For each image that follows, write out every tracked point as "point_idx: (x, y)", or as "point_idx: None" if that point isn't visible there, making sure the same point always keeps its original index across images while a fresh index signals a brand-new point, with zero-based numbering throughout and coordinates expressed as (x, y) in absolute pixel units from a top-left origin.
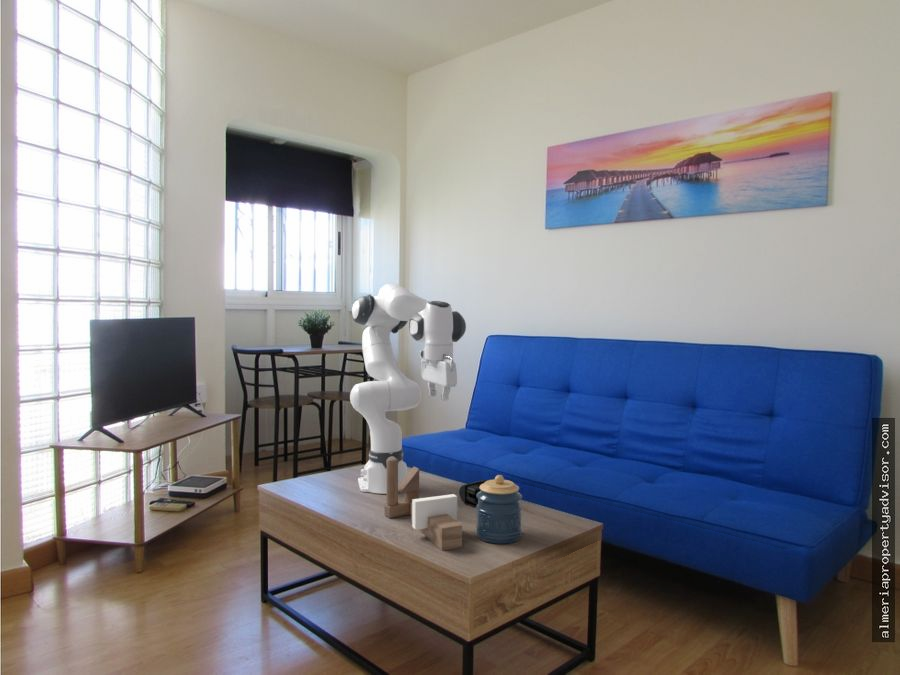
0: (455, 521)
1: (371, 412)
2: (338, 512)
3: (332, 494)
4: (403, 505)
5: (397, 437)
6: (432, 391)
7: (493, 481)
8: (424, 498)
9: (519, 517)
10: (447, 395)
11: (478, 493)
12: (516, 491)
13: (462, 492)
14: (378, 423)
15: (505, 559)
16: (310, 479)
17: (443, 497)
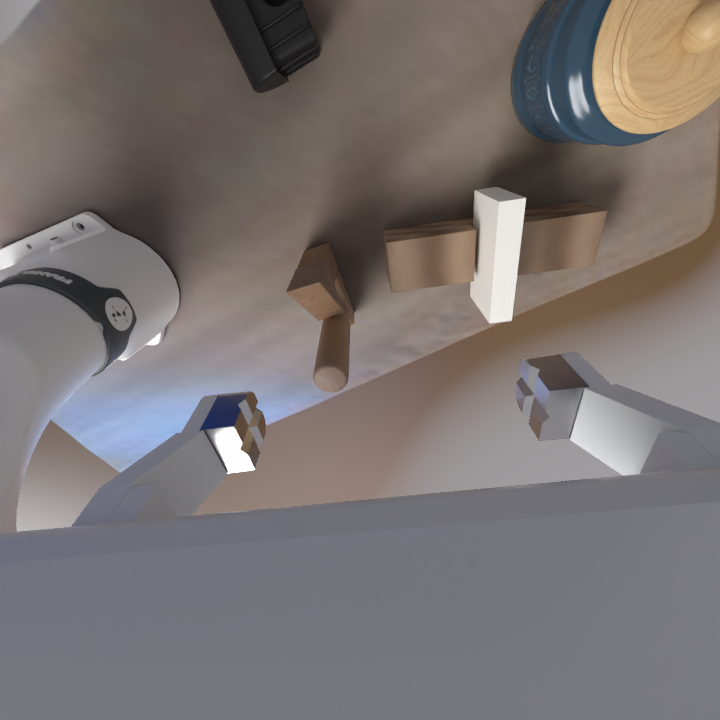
0: (573, 219)
1: (16, 492)
2: (296, 391)
3: (181, 392)
4: (343, 291)
5: (38, 330)
6: (251, 454)
7: (657, 50)
8: (496, 294)
9: None
10: (600, 387)
11: (604, 133)
12: None
13: (271, 83)
14: (37, 433)
15: (703, 116)
16: (74, 420)
17: (514, 242)
